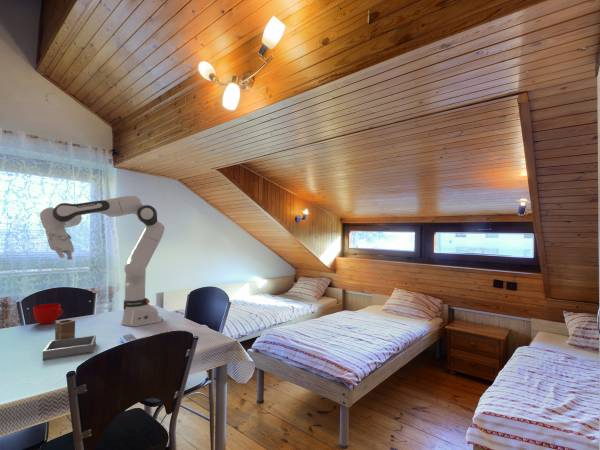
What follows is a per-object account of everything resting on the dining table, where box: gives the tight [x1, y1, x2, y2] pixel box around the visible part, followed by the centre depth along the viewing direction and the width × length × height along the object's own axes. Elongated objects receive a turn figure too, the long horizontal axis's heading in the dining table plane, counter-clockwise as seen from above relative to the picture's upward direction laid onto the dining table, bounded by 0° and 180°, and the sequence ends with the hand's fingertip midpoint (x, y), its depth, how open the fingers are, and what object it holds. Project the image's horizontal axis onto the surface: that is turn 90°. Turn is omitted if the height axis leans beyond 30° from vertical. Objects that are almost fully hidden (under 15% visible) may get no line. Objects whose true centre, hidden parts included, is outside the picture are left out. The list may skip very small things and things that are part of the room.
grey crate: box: [42, 334, 97, 361], centre depth 147 cm, size 18×14×4 cm
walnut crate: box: [54, 318, 76, 340], centre depth 160 cm, size 6×6×10 cm
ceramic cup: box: [32, 303, 64, 325], centre depth 190 cm, size 13×17×10 cm
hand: (66, 258), depth 174 cm, fingers open, 8 cm apart
